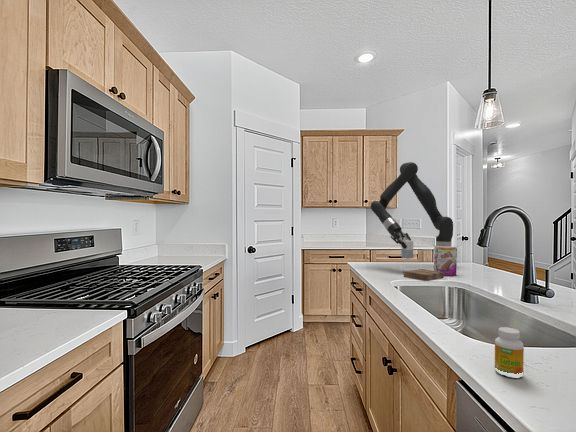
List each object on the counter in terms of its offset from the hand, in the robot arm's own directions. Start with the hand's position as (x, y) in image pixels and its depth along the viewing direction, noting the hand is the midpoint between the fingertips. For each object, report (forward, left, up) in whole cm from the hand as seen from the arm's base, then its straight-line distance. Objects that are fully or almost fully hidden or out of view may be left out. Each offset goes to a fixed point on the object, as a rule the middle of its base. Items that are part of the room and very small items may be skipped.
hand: (408, 247), depth 204 cm
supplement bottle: (+89, +93, -16) cm, 130 cm away
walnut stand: (+3, +12, -15) cm, 20 cm away
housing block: (0, -1, -6) cm, 6 cm away
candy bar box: (-13, +15, -16) cm, 25 cm away
